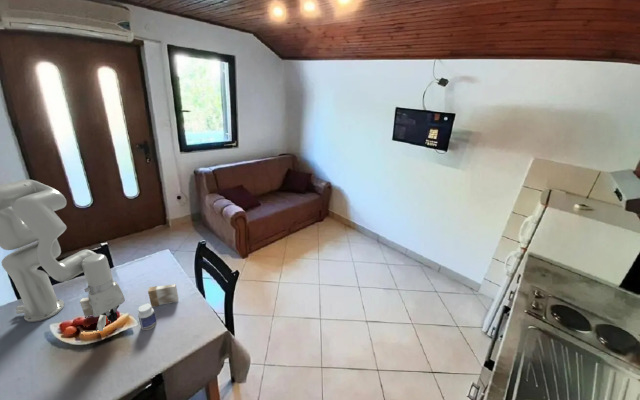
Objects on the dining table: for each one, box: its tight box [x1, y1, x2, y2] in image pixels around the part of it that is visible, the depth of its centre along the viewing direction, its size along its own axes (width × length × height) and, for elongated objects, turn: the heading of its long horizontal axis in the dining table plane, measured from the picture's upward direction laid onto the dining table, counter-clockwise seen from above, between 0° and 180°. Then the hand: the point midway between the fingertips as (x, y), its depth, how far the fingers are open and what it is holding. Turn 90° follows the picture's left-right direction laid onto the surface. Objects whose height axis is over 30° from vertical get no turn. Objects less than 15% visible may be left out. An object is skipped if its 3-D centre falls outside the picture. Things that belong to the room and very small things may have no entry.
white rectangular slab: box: [95, 310, 110, 332], centre depth 110 cm, size 14×2×8 cm, turn 28°
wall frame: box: [79, 283, 179, 318], centre depth 121 cm, size 36×3×9 cm, turn 109°
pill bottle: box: [137, 303, 157, 331], centre depth 112 cm, size 6×6×10 cm
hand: (113, 319), depth 110 cm, fingers closed
